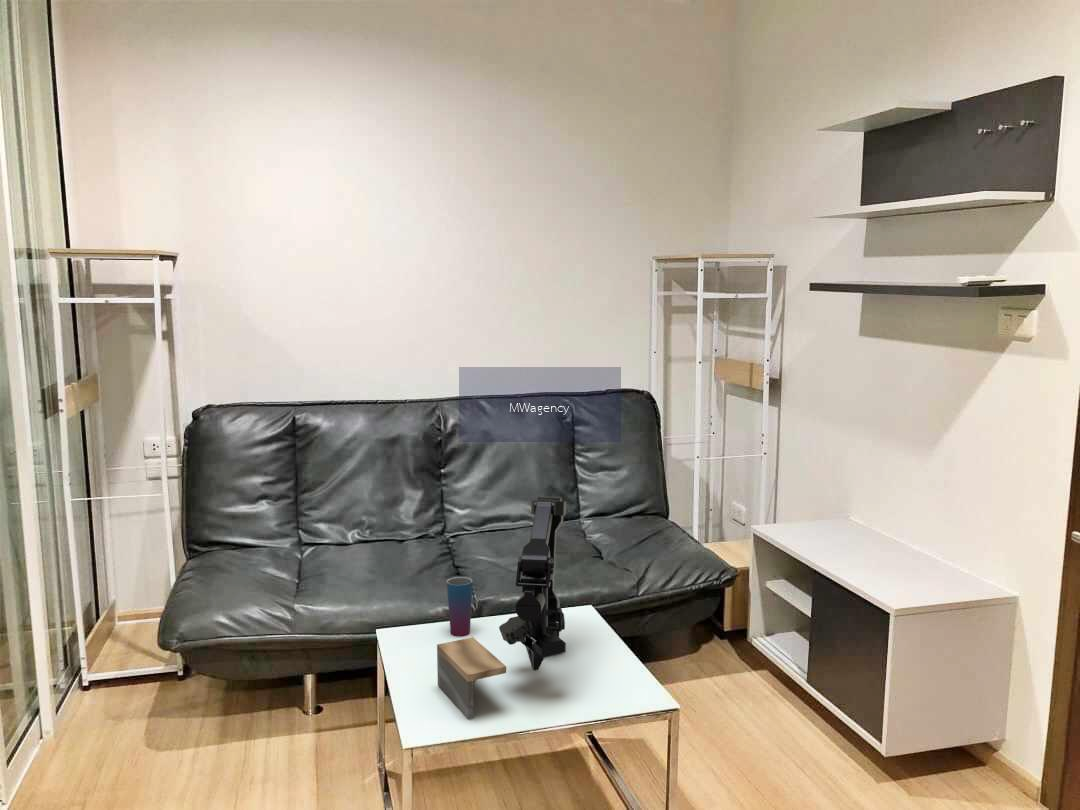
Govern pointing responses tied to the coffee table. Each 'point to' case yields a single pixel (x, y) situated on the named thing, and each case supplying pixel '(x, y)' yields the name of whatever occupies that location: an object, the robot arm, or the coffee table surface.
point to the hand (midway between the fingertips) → (535, 670)
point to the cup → (459, 605)
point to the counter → (464, 670)
